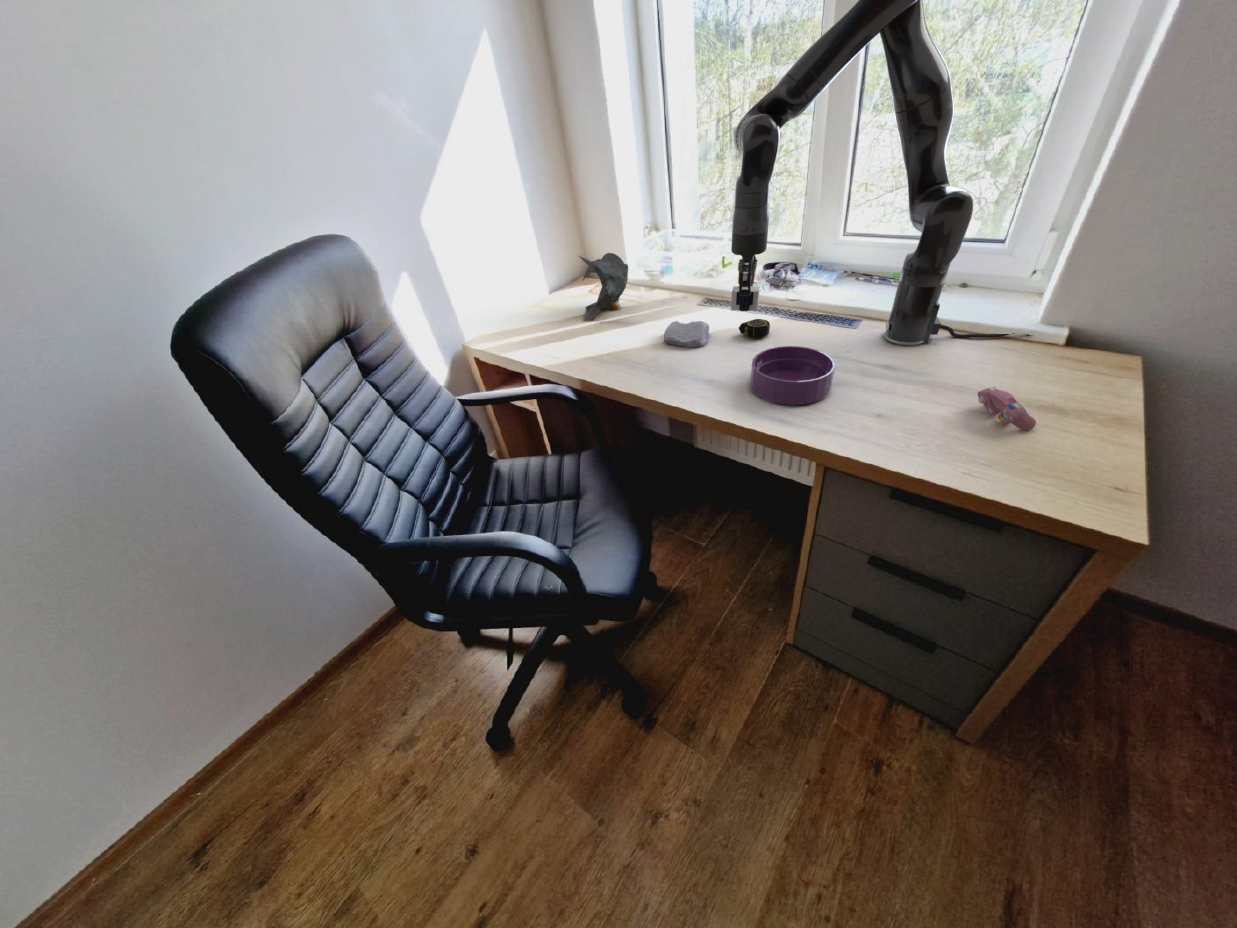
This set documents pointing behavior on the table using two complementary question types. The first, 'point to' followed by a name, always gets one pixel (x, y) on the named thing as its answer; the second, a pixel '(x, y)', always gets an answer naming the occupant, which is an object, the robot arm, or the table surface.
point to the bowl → (792, 375)
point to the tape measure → (755, 328)
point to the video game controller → (1006, 408)
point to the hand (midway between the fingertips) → (744, 306)
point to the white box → (753, 298)
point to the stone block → (687, 334)
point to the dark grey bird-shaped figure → (607, 283)
